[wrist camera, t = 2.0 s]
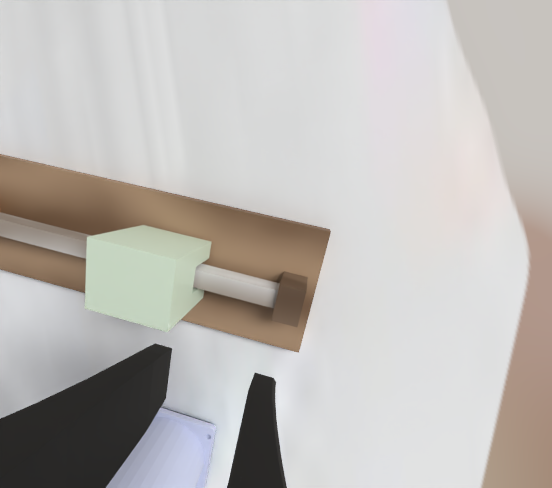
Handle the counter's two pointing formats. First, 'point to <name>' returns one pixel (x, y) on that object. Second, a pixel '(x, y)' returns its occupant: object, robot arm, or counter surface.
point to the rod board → (175, 218)
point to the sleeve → (144, 275)
